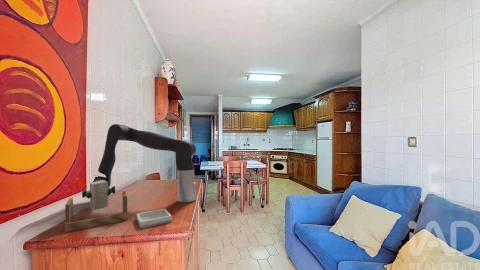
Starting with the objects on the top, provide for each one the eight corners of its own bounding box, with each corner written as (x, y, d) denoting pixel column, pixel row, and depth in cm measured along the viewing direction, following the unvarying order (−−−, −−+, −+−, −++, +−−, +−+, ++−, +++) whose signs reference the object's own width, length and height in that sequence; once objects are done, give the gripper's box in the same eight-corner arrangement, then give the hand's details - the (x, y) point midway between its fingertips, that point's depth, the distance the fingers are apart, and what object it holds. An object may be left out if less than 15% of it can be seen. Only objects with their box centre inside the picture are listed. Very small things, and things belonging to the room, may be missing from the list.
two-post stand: (125, 212, 104) (125, 191, 104) (127, 220, 94) (127, 196, 94) (69, 222, 93) (69, 198, 93) (65, 232, 83) (64, 205, 83)
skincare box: (104, 205, 105) (104, 180, 105) (108, 207, 102) (108, 181, 102) (89, 208, 100) (89, 182, 100) (93, 210, 97) (92, 183, 98)
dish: (165, 213, 101) (165, 208, 101) (171, 221, 90) (171, 215, 90) (136, 219, 94) (136, 213, 94) (140, 228, 84) (140, 222, 84)
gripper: (82, 182, 110) (79, 189, 96) (115, 179, 117) (116, 184, 103) (82, 197, 110) (79, 206, 96) (115, 193, 117) (117, 200, 103)
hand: (98, 194), depth 100 cm, fingers closed on skincare box, 7 cm apart
